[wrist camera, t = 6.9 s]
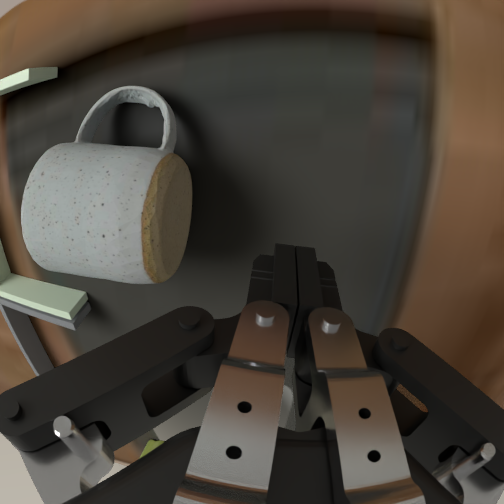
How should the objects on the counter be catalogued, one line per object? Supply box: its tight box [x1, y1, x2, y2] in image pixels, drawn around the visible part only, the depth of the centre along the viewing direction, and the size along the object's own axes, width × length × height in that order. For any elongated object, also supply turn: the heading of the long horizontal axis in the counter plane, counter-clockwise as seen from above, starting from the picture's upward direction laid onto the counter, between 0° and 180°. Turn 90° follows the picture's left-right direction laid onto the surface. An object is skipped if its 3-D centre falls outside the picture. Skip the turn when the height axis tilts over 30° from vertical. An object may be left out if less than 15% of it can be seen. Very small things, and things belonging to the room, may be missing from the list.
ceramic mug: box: [21, 86, 192, 284], centre depth 15 cm, size 11×8×8 cm
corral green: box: [0, 67, 88, 320], centre depth 18 cm, size 12×20×3 cm, turn 176°
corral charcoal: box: [0, 296, 91, 376], centre depth 28 cm, size 12×20×3 cm, turn 176°
